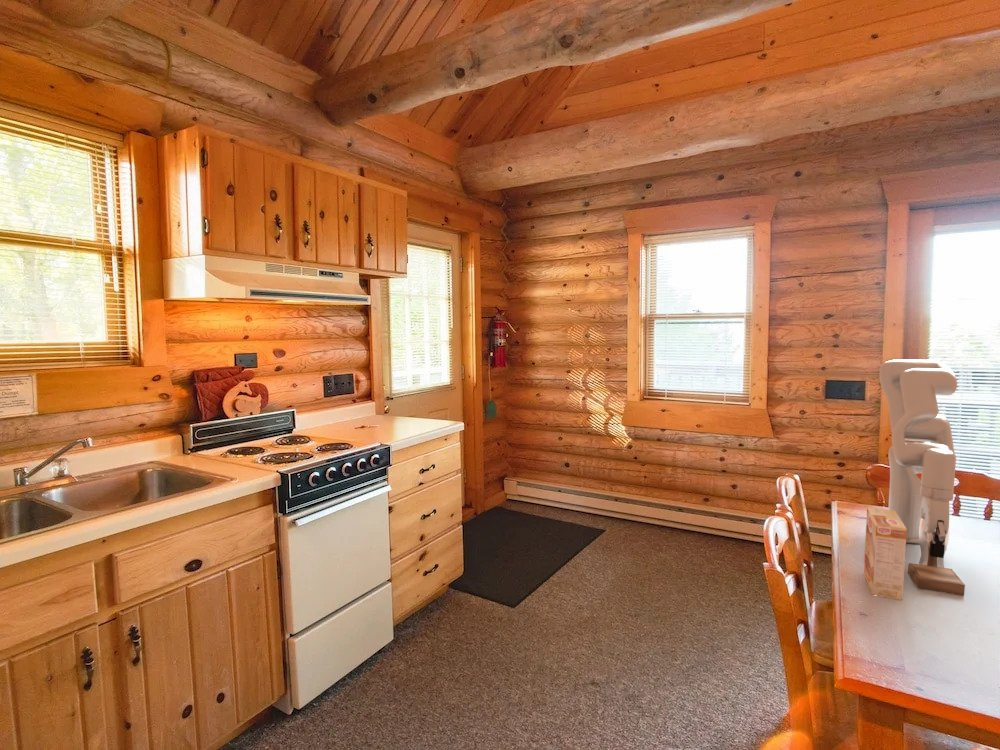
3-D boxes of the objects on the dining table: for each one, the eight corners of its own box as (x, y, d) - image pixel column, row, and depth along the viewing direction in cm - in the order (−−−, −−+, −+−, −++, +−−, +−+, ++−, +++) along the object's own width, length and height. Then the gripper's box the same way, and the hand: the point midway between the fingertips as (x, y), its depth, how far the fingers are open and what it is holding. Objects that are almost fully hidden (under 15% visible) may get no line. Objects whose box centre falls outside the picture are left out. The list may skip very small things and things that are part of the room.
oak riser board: (907, 573, 159) (908, 562, 159) (951, 579, 155) (951, 568, 155) (918, 588, 150) (918, 577, 150) (964, 595, 146) (965, 584, 146)
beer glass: (951, 574, 158) (955, 524, 156) (924, 572, 159) (927, 522, 158) (938, 564, 165) (941, 515, 163) (911, 562, 166) (914, 513, 165)
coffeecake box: (862, 571, 161) (866, 506, 159) (892, 576, 158) (896, 510, 155) (870, 595, 147) (874, 524, 145) (903, 601, 144) (908, 528, 142)
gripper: (912, 482, 169) (908, 538, 171) (930, 499, 153) (925, 561, 155) (942, 485, 166) (938, 542, 168) (963, 503, 150) (959, 566, 152)
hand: (932, 551), depth 162 cm, fingers closed on beer glass, 6 cm apart
